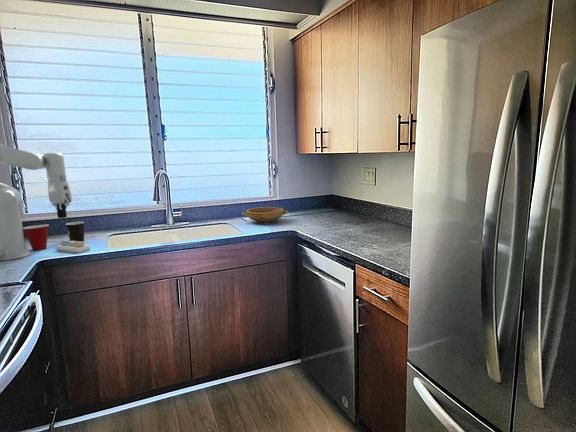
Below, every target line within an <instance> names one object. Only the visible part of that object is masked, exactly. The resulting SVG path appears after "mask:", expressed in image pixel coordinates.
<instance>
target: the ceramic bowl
mask: <svg viewBox="0 0 576 432" xmlns="http://www.w3.org/2000/svg"><path fill="white" fill-rule="evenodd" d="M288 213H289V210H288V209H286V210H285V209H284V208H283V207H277V206H276V207H274V206H263V207H253V208H249V209H246V211H242V212H241V215H243V216H245V217H247V218H249V219H250V220H252V221H255V222H256V223H257V224H259V223H260V224H259V225H265V224H264V223H270V224H274V223H275V221H278V220H279V219H280V218H282V216H284V215H286V214H288ZM273 222H274V223H273Z"/></svg>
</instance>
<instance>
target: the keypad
mask: <svg viewBox="0 0 576 432" xmlns="http://www.w3.org/2000/svg"><path fill="white" fill-rule="evenodd" d="M56 249H57V250H56V251H57V252H63V253H72V254H79V253H80V254H82V253H86V252H90V251H91V247H90V245H89V244H84V246H82V247H76V246H69V245H67V246H66V245H62V244H59V245H56Z"/></svg>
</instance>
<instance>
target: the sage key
mask: <svg viewBox="0 0 576 432" xmlns="http://www.w3.org/2000/svg"><path fill="white" fill-rule="evenodd" d="M75 242H77V241H69V242H68V245H69V246H75Z"/></svg>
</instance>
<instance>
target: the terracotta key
mask: <svg viewBox="0 0 576 432" xmlns="http://www.w3.org/2000/svg"><path fill="white" fill-rule="evenodd" d="M84 245H85V241H83V242H81V241H78V242H75V246H76V247H82V246H84Z"/></svg>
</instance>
